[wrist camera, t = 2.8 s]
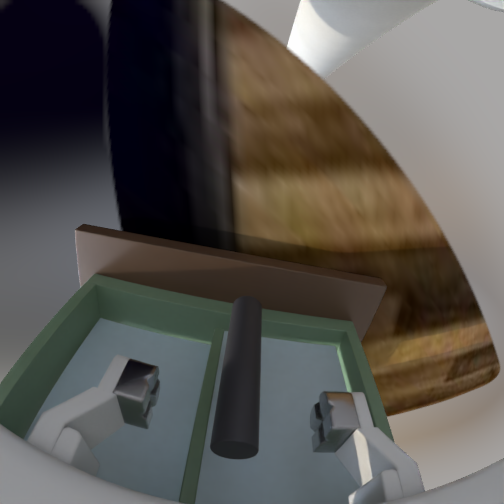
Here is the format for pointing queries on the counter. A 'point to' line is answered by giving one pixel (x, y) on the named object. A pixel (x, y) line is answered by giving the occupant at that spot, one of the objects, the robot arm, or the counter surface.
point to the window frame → (178, 339)
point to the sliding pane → (262, 420)
